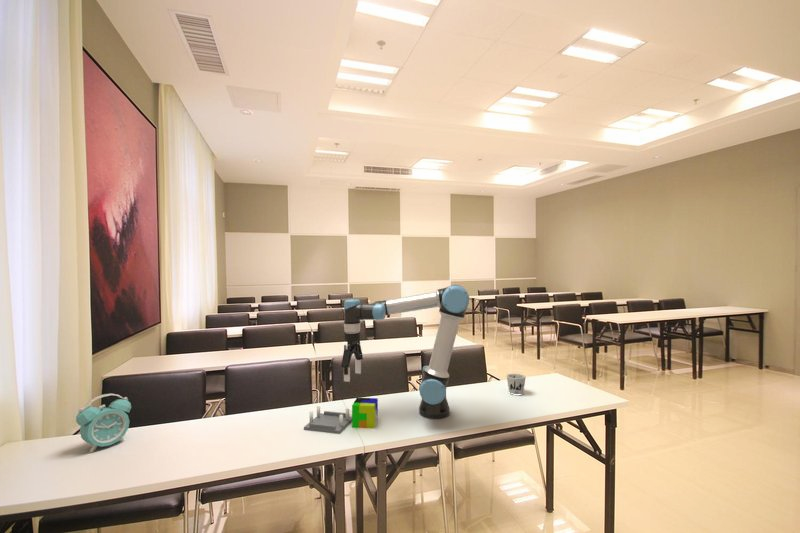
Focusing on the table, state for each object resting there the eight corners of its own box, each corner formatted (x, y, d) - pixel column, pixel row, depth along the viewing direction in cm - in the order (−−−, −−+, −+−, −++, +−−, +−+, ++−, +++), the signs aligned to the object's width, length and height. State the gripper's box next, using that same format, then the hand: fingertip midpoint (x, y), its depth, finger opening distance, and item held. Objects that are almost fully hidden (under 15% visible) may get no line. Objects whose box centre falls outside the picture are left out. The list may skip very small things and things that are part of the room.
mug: (507, 396, 202) (507, 378, 202) (504, 387, 217) (504, 371, 217) (527, 397, 200) (527, 379, 200) (522, 388, 215) (522, 371, 215)
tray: (353, 419, 170) (353, 406, 170) (339, 433, 155) (339, 419, 155) (320, 415, 174) (320, 402, 174) (303, 429, 159) (303, 415, 159)
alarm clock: (82, 457, 135) (82, 403, 136) (72, 450, 140) (73, 399, 141) (135, 439, 150) (135, 391, 150) (125, 433, 155) (125, 387, 155)
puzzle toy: (377, 419, 170) (377, 398, 170) (374, 428, 160) (374, 406, 160) (356, 418, 171) (356, 397, 171) (352, 427, 161) (352, 405, 161)
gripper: (354, 328, 184) (355, 369, 183) (333, 336, 160) (333, 384, 159) (368, 328, 182) (369, 370, 181) (349, 337, 158) (349, 385, 157)
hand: (352, 377), depth 170 cm, fingers open, 13 cm apart
